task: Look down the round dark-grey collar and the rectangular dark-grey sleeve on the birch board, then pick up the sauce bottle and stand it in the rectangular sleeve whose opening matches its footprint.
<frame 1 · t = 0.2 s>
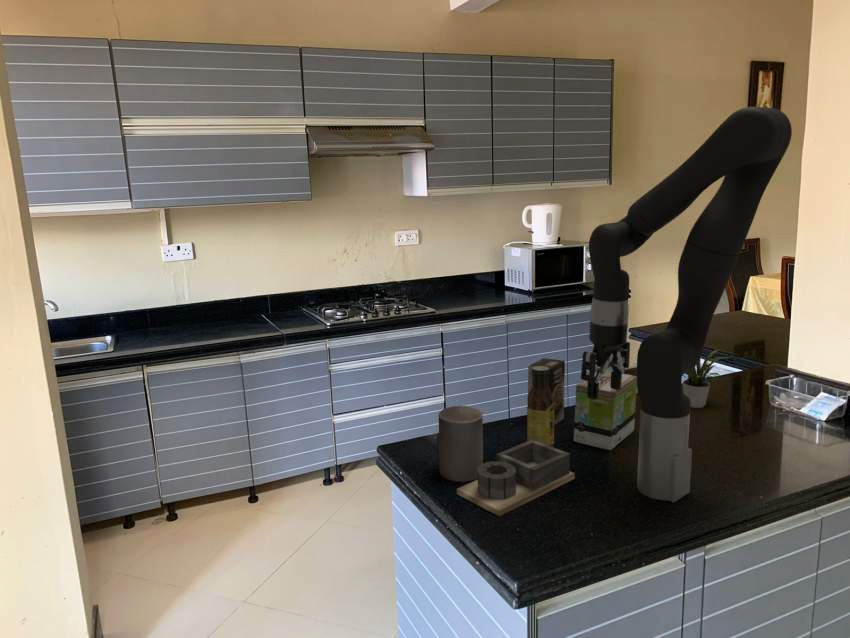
hand: (604, 393, 137), 18 cm above the worktop, tool pointing down, fingers open, 8 cm apart
tea box: (604, 437, 159), on the worktop
sauce bottle: (540, 449, 153), on the worktop
coffee box: (546, 422, 169), on the worktop
house plant: (700, 405, 178), on the worktop
pillar candle: (461, 472, 142), on the worktop
socket board: (516, 486, 135), on the worktop
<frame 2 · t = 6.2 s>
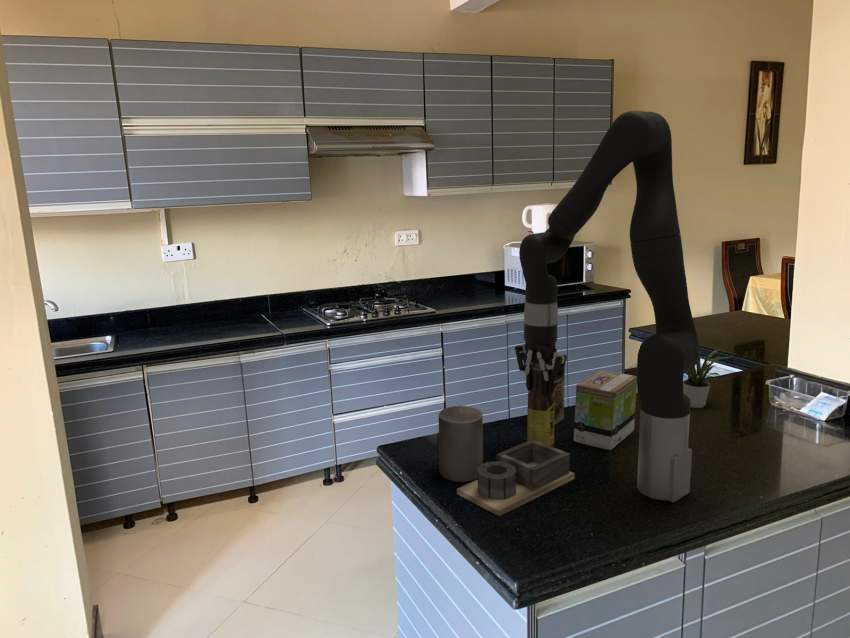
hand: (539, 392, 150), 14 cm above the worktop, tool pointing down, fingers closed on sauce bottle, 4 cm apart
sauce bottle: (540, 449, 153), on the worktop, touching gripper
everything else where it was.
when the fingers open (16 cm above the worktop, at t = 12.3 s): sauce bottle drops 1 cm, resting on socket board.
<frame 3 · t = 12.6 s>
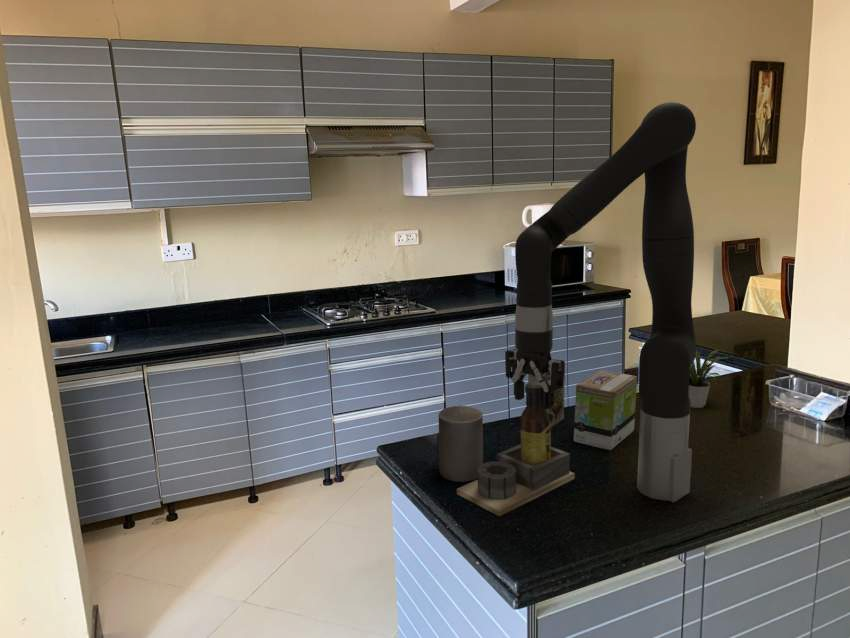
hand: (533, 403, 134), 17 cm above the worktop, tool pointing down, fingers open, 7 cm apart
sauce bottle: (535, 475, 137), point 1 cm above the worktop, touching socket board
everything else where it was.
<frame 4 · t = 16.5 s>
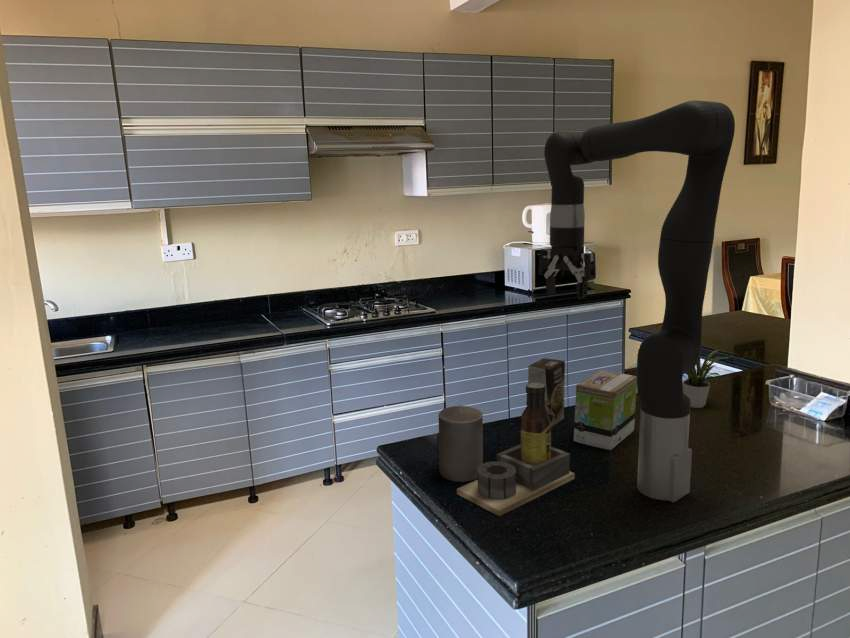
hand: (565, 296, 147), 36 cm above the worktop, tool pointing down, fingers open, 8 cm apart
nothing on the worktop moved.
at the end: sauce bottle 0.7 cm from the target spot on the socket board, point 1.0 cm above the socket board's base; sauce bottle tilted 0°; the gripper is holding nothing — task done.
